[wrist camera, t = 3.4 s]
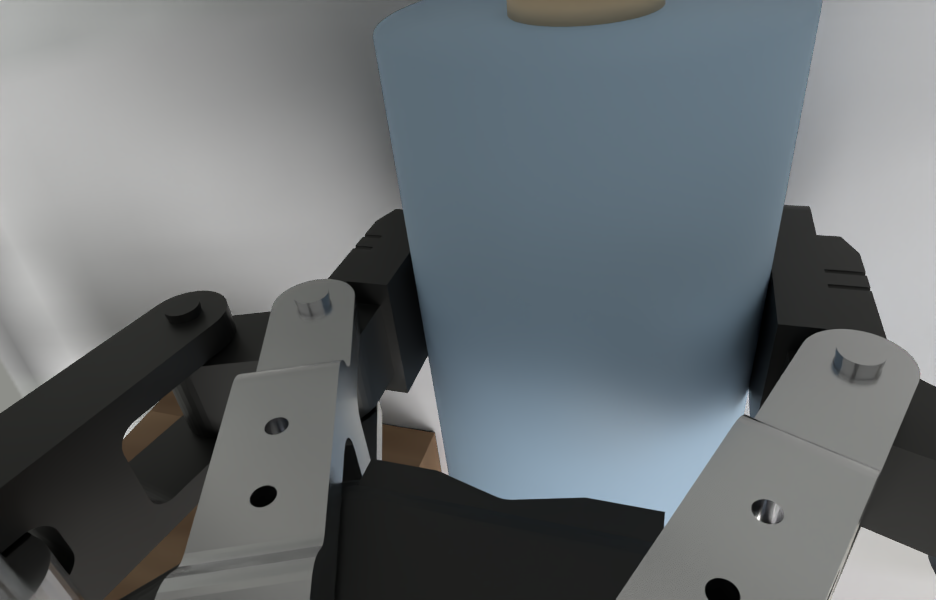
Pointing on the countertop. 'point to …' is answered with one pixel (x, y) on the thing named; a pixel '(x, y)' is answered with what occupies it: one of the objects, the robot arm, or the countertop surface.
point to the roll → (592, 227)
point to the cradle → (170, 551)
